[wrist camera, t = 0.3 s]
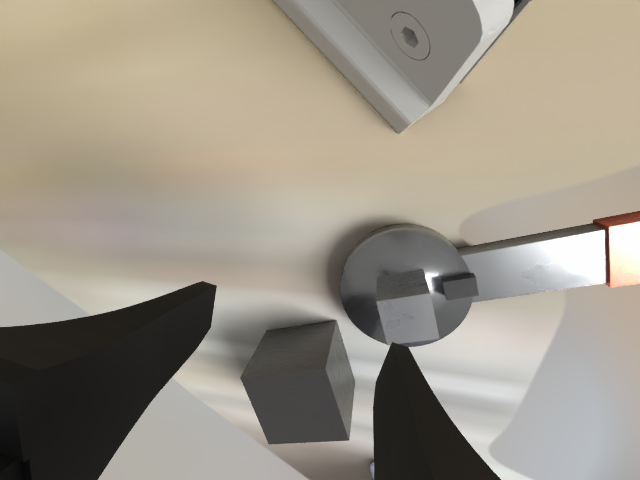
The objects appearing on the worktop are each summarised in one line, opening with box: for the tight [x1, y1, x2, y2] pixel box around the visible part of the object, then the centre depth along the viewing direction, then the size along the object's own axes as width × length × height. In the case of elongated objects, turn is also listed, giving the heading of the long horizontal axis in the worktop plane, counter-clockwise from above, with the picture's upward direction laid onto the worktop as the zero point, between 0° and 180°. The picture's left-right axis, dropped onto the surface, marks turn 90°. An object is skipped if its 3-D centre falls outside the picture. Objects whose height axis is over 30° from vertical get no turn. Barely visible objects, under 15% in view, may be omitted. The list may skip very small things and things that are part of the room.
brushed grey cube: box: [241, 320, 355, 444], centre depth 23 cm, size 6×6×5 cm
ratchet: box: [340, 211, 640, 347], centre depth 17 cm, size 8×25×5 cm, turn 106°
